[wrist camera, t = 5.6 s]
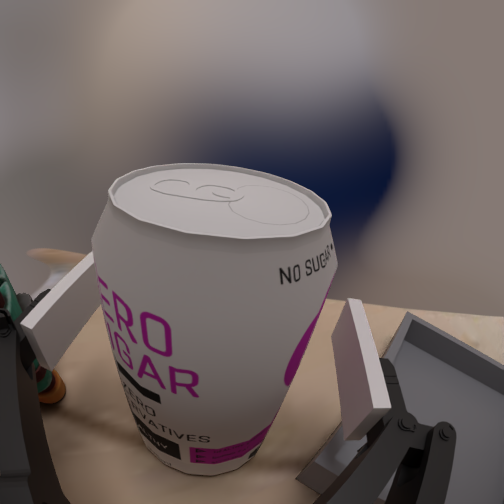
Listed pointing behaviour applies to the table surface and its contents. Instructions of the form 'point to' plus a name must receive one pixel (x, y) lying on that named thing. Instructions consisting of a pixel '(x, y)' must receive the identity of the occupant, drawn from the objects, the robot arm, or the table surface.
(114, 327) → the supplement can
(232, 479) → the table surface
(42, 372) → the binoculars
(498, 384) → the tray
